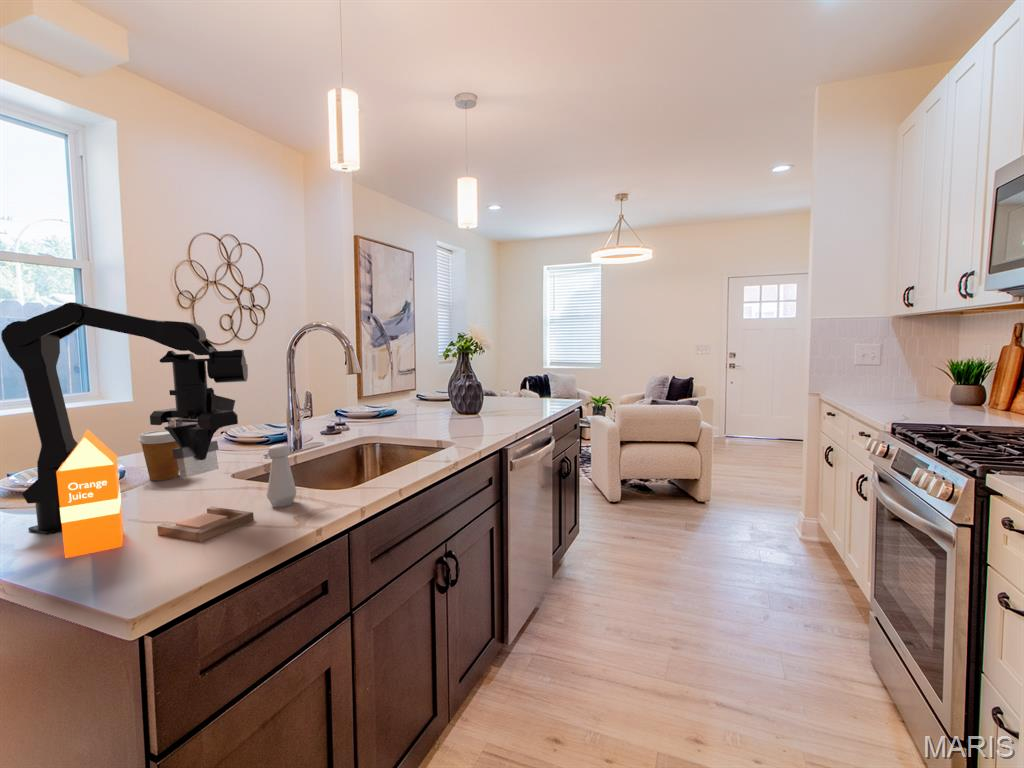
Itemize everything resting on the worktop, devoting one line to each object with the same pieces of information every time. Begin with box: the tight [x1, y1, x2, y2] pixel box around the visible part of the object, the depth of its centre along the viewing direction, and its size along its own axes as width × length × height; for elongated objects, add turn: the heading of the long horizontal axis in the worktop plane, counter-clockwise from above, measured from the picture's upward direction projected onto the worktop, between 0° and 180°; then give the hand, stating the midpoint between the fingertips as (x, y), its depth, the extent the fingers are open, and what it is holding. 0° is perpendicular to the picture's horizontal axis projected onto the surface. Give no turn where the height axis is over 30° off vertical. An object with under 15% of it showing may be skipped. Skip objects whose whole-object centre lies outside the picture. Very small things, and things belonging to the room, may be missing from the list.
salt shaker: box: [266, 443, 297, 508], centre depth 109 cm, size 6×6×13 cm
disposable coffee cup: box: [138, 429, 180, 481], centre depth 133 cm, size 10×10×12 cm
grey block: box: [172, 440, 220, 479], centre depth 104 cm, size 3×8×6 cm, turn 158°
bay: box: [156, 506, 255, 543], centre depth 96 cm, size 11×11×2 cm
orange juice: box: [56, 429, 125, 559], centre depth 88 cm, size 8×9×20 cm
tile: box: [175, 512, 229, 530], centre depth 97 cm, size 6×6×2 cm
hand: (196, 459), depth 104 cm, fingers closed on grey block, 3 cm apart
